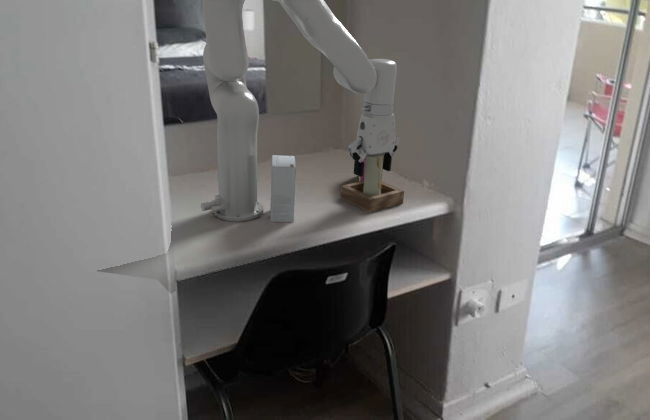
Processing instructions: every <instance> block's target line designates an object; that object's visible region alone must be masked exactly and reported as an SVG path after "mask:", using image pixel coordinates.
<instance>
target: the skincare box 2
mask: <svg viewBox="0 0 650 420" xmlns="http://www.w3.org/2000/svg"><path fill="white" fill-rule="evenodd" d="M383 158H384V153H381V154H376V155H366V161H365V176H364V191H363V193H364V194H366V195H368V196H371V197H372V196H376V195H380V194H381V184H382V182H383V170H384V169H383Z"/></svg>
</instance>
